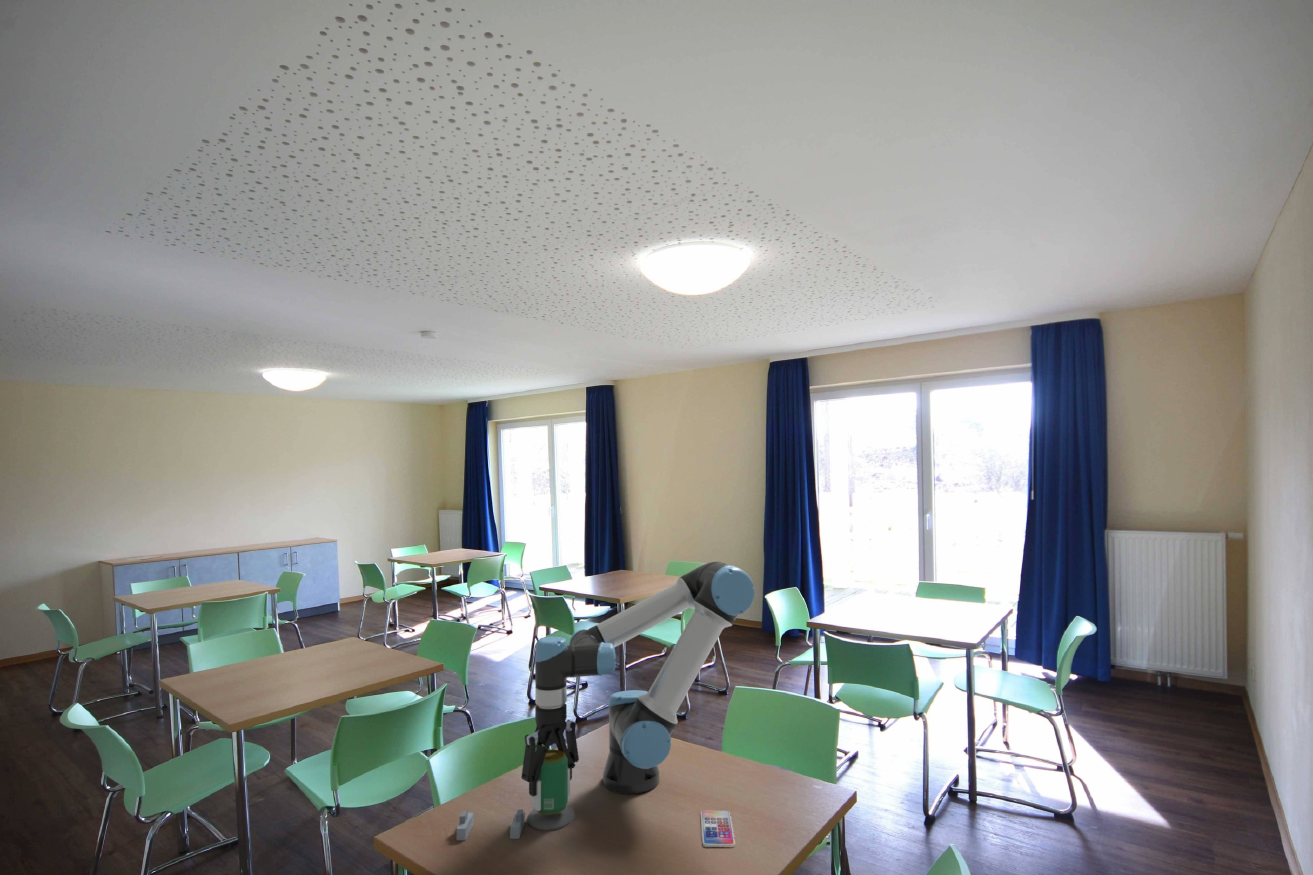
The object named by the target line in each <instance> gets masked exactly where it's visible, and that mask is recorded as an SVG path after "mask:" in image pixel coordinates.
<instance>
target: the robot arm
mask: <svg viewBox="0 0 1313 875" xmlns="http://www.w3.org/2000/svg"><path fill="white" fill-rule="evenodd" d="M755 590H756V589H755V586H754V582H753V580H752V578H751V577H750V575H749V574H748V573H747V572H746V571H744V570H743V569H741V568H740V567H737V566H736V565H731V564H727V563H724V562H722V561H721V562H720V561H711V562H707V563H704V564H702V565H701V566H698V567H696V568H694V569H692V570H690V571H688V572H687V573H685V574H683V575H682V576H679V577H678V578H677V581H676V583H673V584H672V585H670V586H668V587H667V588H664V589H663V590H661V591H659V592H656V593H655V594H653V595H650V596H649V597H647V598H645V599H643V600H642V601H640V602H638V603H636V604H634V605H632V606H630V607H628V608H626V609H624V610H622V611H620V612H619V613H617V614H615V615H613V616H611V617H609V618H607V619H606V620H603V621H601V622H599V623H598V624H596V625H594V626H591V627H590V628H588V629H583V628H582V629H578V630H576V631H575V632H574V633H572V635H571V636H570V638H569V641H568V642H569V643H567V639H566V638H564V637H563V636H562V637H561V636H546V637H543V638H539V640H538V641H537V642H536V645H535V656H534V665H535V666H534V668H535V669H534V674H535V682H534V683H535V687H534V689H535V690H534V691H535V694H534V696H535V704H536V705H535V706H534V707H535V710H534V712H535V713H534V715H535V716H534V718H535V724H536V727H535V731H534V732H533V733H532V734H526V735H525V736H524V743H525V748H524V749H525V750H524V756H523V761H522V762H523V763H522V769H521V770H522V771H521V779H522V780H523V781H525V782H527V783H528V793H529V795H530V796H531V798H530V799H531V800H530V801H531V802H530V804H531V805H530V806H531V808H532V809H533V810H534V809H535V810H537V811H540V810H541V781H540V780H538V778H539V775H540V771H541V767H542V764H543V761H544V758H545V755H546V752H547V751H548V750H550V747H552V745H554V744H555V746H556V749H557V750H560V751H562V752H565V755H566V757H567V759H568V798H570V797H571V780H572V779H573V769H575V767H576V763H578V762H579V761H580V758H579V750H578V742H577V737H576V726H577V723H576V721H573V720H570V719H568V720H567V716H568V715H567V713H568V712H567V711H568V710H567V706H568V705H567V704H566V703H567V701H568V699H567V698H568V697H567V695H568V694H567V692H568V691H567V681H568V680H567V679H570V678H571V679H572V678H581V677H596V676H600V677H602V676H604V675H605V676H606V675H609V674H610V675H611V674H613V673H614V672H615V669H616V663H617V661H616V656H617V655H616V650H615V648H616V647H619V646H620V645H622V644H624V643H626V642H627V641H630V640H632V639H633V638H635V637H637V636H638V635H641V634H643V633H645V632H647V631H648V630H651V629H652V628H654V627H655V626H657V625H659V624H661V623H664V622H665V621H667V620H669V619H671V618H673V617H675V616H676V615H678V614H680V613H682V612H684V611H686V610H688V609H691V610H694V612H693V613H692V615H691V616H690V618H689V620H688V622H687V624H686V626H684V629H683V631H682V633H681V634H680V636H679V638H678V640H677V641H676V643H675V644H674V646H673V648H672V649H671V651H670V654H669V655H668V656H667V659H666V660H665V662H664V663H663V665H662V667H661V669H659V672H658V673H657V676H656V677H655V679H654V680H653V683H652V684H651V686H650V688H649V690H648V691H646V690H642V689H641V690H640V689H639V690H638V689H634V690H633V689H631V690H630V689H629V690H622V691H617V692H615V693H613V694H610V696H609V699H608V720H609V722H608V727H609V728H608V730H609V731H608V732H609V733H608V734H609V736H608V738H609V740H608V741H609V744H608V745H609V746H608V747H609V750H608V751H609V752H608V755H607V759H606V762H605V765H604V769H603V773H602V783H603V785H604V787H605V788H606V789H607V790H609V791H612V792H615V793H618V794H625V795H629V794H630V795H631V794H641V793H645V792H649V791H651V790H652V789H654V788H655V787H657V786H658V785H659V783H660V769H659V765H661V764H662V763H663V762H664V761H665V760H666V759H667V757H668V756H669V754H670V751H671V747H672V738H671V735H672V734H673V732H674V730H675V729H676V726H677V725H678V718H677V712H678V710H679V708H680V707H681V705H682V703H683V701H684V699H685V698H686V695H687V694H688V692H689V691H690V688H691V687H692V685H693V683H694V682H695V679H696V678H697V676H698V675H699V673H700V671H701V669H702V668H703V665H704V663H705V662H706V660H707V658H708V656H709V655H710V653H711V651H712V649H713V647H714V646H715V643H717V640H718V639H719V637H720V635H721V633H722V631H723V630H724V629H725V628H728V627H729V628H730V627H732V626H733V624H734V623H735V621H736V620H737V618H738V616H739V615H741V614H744V613H746V612H747V611H748V610H749V609H750V608H751V607H752V605H753V603H754V601H755V593H756V592H755Z"/></svg>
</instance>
